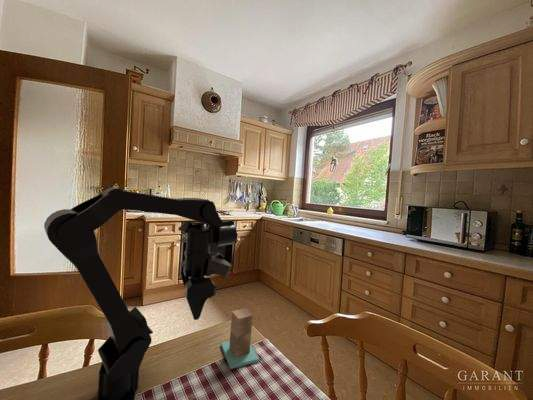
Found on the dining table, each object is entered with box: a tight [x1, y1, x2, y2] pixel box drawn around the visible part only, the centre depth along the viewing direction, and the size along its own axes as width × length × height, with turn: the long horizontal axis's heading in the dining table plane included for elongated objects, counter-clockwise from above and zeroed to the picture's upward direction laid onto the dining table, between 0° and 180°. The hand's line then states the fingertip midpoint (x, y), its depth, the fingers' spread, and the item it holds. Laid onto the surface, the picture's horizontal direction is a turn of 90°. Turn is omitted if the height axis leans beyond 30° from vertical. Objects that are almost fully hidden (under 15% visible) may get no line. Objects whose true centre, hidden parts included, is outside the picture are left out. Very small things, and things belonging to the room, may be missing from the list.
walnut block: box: [229, 307, 254, 357], centre depth 61 cm, size 4×4×10 cm
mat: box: [220, 340, 260, 370], centre depth 62 cm, size 8×9×1 cm
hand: (193, 309), depth 59 cm, fingers open, 9 cm apart
